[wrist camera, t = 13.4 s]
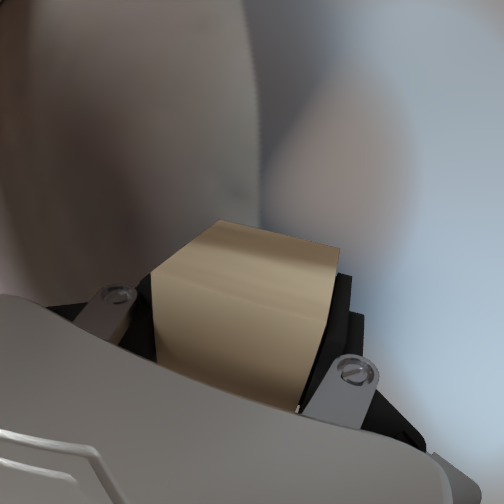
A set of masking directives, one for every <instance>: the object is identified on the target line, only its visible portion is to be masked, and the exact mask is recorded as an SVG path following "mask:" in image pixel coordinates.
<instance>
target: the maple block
mask: <svg viewBox="0 0 504 504" xmlns="http://www.w3.org/2000/svg"><path fill="white" fill-rule="evenodd" d="M339 251H340V248H336V247H332V246H328V245H324V244H320V243H316V242H312V241H307V240H303V239H299V238H295V237H291V236H287V235H283V234H278V233H274V232H270V231H266V230H262V229H257V228H253V227H249V226H245V225H240V224H236V223H232V222H227V221H223V220H219V221H217V222H216V223H215V224H213V225H212V226H211V227H209V228H208V229H207V230H205V231H204V232H203V233H201V234H200V235H199V236H197V237H196V238H195V239H193V240H192V241H191V242H189V243H188V244H187V245H185V246H184V247H183V248H181V249H180V250H179V251H177V252H176V253H175V254H174V255H172V256H171V257H170V258H168V259H167V260H166V261H164V262H163V263H162V264H161V265H159V266H158V267H157V268H155V269H154V270H153V271H152V272H151V289H152V306H153V321H154V333H155V345H156V355H157V364H159V365H162V366H164V367H166V368H169V369H171V370H174V371H176V372H178V373H181V374H183V375H186V376H188V377H191V378H193V379H196V380H199V381H201V382H204V383H206V384H209V385H212V386H215V387H217V388H220V389H223V390H226V391H228V392H231V393H234V394H237V395H240V396H243V397H246V398H249V399H252V400H255V401H258V402H261V403H265V404H268V405H271V406H274V407H278V408H281V409H285V410H288V411H292V412H295V410H296V408H297V405H298V403H299V400H300V397H301V395H302V392H303V390H304V387H305V384H306V381H307V379H308V376H309V373H310V370H311V368H312V365H313V362H314V359H315V356H316V353H317V350H318V347H319V344H320V341H321V338H322V335H323V332H324V329H325V326H326V323H327V318H328V313H329V308H330V303H331V298H332V292H333V287H334V281H335V276H336V270H337V264H338V258H339Z"/></svg>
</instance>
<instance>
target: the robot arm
mask: <svg viewBox="0 0 504 504" xmlns="http://www.w3.org/2000/svg"><path fill="white" fill-rule="evenodd" d="M1 1H2V0H0V2H1ZM351 283H352V276H349V275H345V274H341V273H338V274H337V276H335V281H334V287H333V292H332V298H331V303H330V308H329V313H328V318H327V323H326V326H325V329H324V332H323V335H322V338H321V341H320V344H319V347H318V350H317V353H316V356H315V359H314V362H313V365H312V368H311V370H310V373H309V376H308V379H307V381H306V384H305V387H304V390H303V392H302V395H301V397H300V400H299V403H298V405H300V408H299V411H298V413H295V412H292V411H288V410H285V409H281V408H278V407H274V406H271V405H268V404H265V403H261V402H258V401H255V400H252V399H249V398H246V397H243V396H240V395H237V394H234V393H231V392H228V391H226V390H223V389H220V388H217V387H215V386H212V385H209V384H206V383H204V382H201V381H199V380H196V379H193V378H191V377H188V376H186V375H183V374H181V373H178V372H176V371H174V370H171V369H169V368H166V367H164V366H162V365H159V364H157V355H156V345H155V333H154V321H153V306H152V289H151V273H150V274H149V275H147V276H146V277H145V278H144V279H142V280H141V281H140V284H139V285H138V286H137V287H135V288H133V287H132V286H130V285H127V284H121V283H117V284H110V285H107V286H105V287H103V288H101V289H100V290H99V291H98V292H97V293H96V295H95V296H94V297H93V298H92V299H91V300H90V302H87V303H78V304H70V305H61V306H51V307H46V308H45V307H43V306H41V305H39V304H37V303H35V302H33V301H30V300H28V299H25V298H22V297H18V296H13V295H7V294H0V504H480V502H481V499H482V496H481V490H480V488H479V486H478V485H477V484H476V483H475V482H474V481H473V480H471V479H470V478H469V477H468V476H466V475H465V474H463V473H462V472H461V471H459V470H458V469H456V468H455V467H454V466H453V465H451V464H450V463H449V462H447V461H446V460H445V459H443V458H442V457H440V456H439V455H438V454H436V453H435V452H434V453H433V454H432V455H431V454H429V453H428V452H427V451H426V443H425V440H424V438H423V437H422V435H421V434H420V433H419V432H418V431H417V430H416V429H415V428H414V427H413V426H412V425H411V424H410V423H409V422H408V421H407V420H406V419H405V418H404V417H403V416H402V415H401V414H400V413H399V412H398V411H397V410H396V409H395V408H394V407H393V406H392V405H391V404H390V403H389V402H388V401H387V399H386V398H384V396H383V395H382V394H381V393H380V392H379V391H378V390H377V389H376V386H377V384H378V381H379V372H378V369H377V368H376V366H375V365H374V364H373V363H372V362H371V361H369V360H368V359H366V358H364V357H363V338H364V337H363V336H364V315H363V314H359V313H355V312H351V311H349V307H350V296H351Z"/></svg>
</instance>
